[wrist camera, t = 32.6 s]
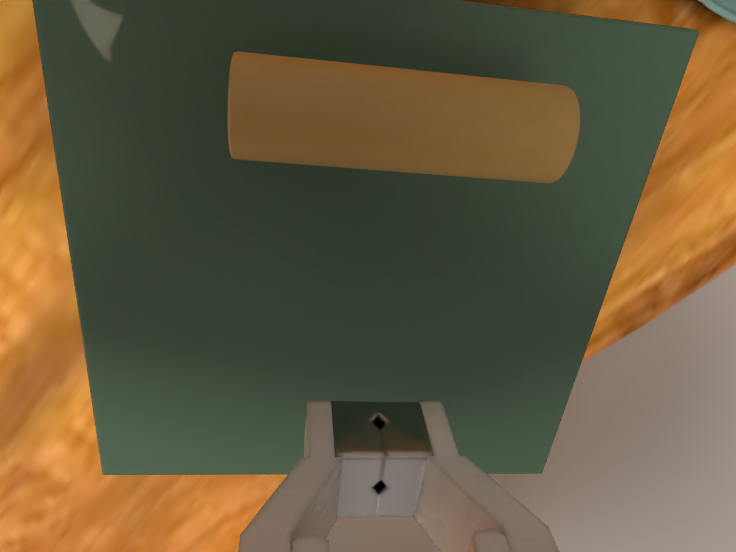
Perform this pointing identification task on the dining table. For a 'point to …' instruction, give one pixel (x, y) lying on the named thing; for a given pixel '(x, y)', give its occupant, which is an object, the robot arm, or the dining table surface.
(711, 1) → the saucer
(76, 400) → the dining table surface
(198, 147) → the lid
